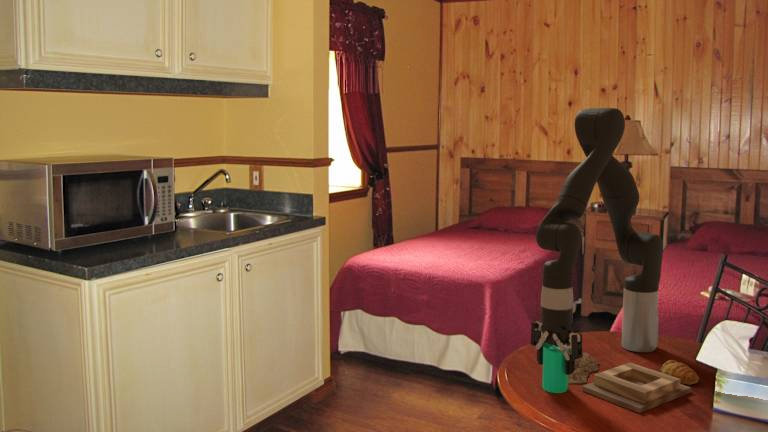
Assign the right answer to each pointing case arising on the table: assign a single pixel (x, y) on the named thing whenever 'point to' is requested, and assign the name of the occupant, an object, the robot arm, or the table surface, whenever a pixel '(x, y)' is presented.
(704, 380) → the table surface
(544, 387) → the candle
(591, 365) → the wooden fragment
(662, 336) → the table surface
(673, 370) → the pastry
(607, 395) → the board
